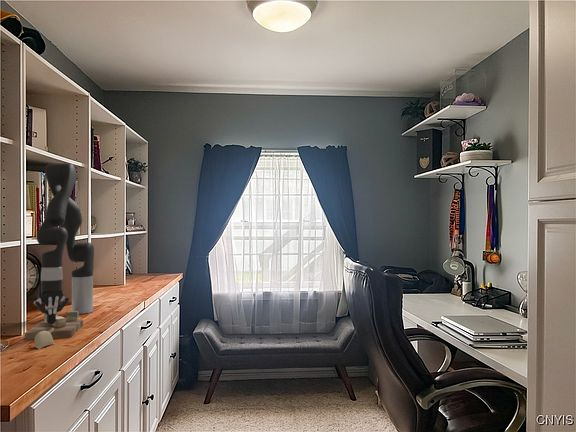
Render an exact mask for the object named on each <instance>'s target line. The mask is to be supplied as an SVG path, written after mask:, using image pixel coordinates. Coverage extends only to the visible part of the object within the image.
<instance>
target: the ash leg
mask: <svg viewBox="0 0 576 432" xmlns="http://www.w3.org/2000/svg"><path fill="white" fill-rule="evenodd" d="M66 320H67V317H63V316H60V315H57V314H56V321H55V322H54V324H50V325H53V326H56V327H62V326H66ZM43 321H44V322H45V323H47V314H44V315H43ZM47 324H48V323H47Z"/></svg>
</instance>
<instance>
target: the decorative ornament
mask: <svg viewBox="0 0 576 432" xmlns="http://www.w3.org/2000/svg"><path fill="white" fill-rule="evenodd" d="M53 330H54V328H51V329H50V330H49V331H41V332H39V333H38V334H36V336H35V339H33V340H34V346H33V348H36V349H38V350H41V349H42V348H44V347H47V346H49V345H56V344H55V343H56V342H54V338H52V335H51V333H52V331H53Z"/></svg>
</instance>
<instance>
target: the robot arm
mask: <svg viewBox="0 0 576 432" xmlns="http://www.w3.org/2000/svg"><path fill="white" fill-rule="evenodd" d="M44 172H45V178H46V181H47V184H48V187H49V189H50V192H51V194H52V198H51V199H50V201H49V202H48V203H47V206H46V212H45V217H44V220H43V222H42V223H41V225H40V227H39V228H38V231H37V234H36V241H37V243H38V244H39V245H41V246H56V247H55V249H53V250H50V251H45V252H43V253H42V255H41V271H40V294H39V296H38V298H37V299H36V300H33V302H32V303H33V305H34V306H35V307H36V308H37V309H38V310H39V311H40V313H42V314H44V315H45V314H47V323H48V324H54V322H55V321H56V315H57V313H60V312H62V311H63V309H64V307H65V306H66V305H67V304H68V302H69V300H70V298H68V297H66V296H64V292H63V283H64V282H63V280H64V279H63V278H64V275H63V274H64V272H63V254H64V250H65V246H66V253H67V256H68V259H69V261H70V262H73V263H83V265H82V266H80V267H78V268H75V269H74V270H72V271H71V311H79V315H85V314H89V313H93V311H94V263H95V262H94V261H95V260H94V259H95V247H94V244H93V243H92V242H77V240H76V236H77V235H76V234H77V233H78V231H79V230H80V228H81V226H82V222H83V217H82V212H81V207H80V206H79V204H78V203H77V202H76V201H75V200H73V199H72V198H71V195H72V192H73V189H74V186H75V183H76V180H77V179H76V178H77V176H76V175H77V172H76V168H75V166H74V164H73V163H68V162H67V163H65V162H64V163H63V162H62V163H49V164H46V166H45V169H44ZM42 303H43V304H44V306H43V305H42Z"/></svg>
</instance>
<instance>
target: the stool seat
mask: <svg viewBox="0 0 576 432" xmlns="http://www.w3.org/2000/svg"><path fill="white" fill-rule="evenodd" d="M79 317H80V314H79V311H72V310H69V311H67V312H66V326H62V327H56V326H53V325H50V324H47V323H45V322H44V320H42V321H40V322H39V323H37V324H36V325H34V326H33V327H31V328H30V329H29V330H27V331H25V332H24V340H25V341H26V340H35V336H36V334H38V333H39V332H41V331H49V330H50V329H51V328H54V330H53V331H52V333H51V335H52V338H53V339H58V338H60V337H63V338H72V337H73V336H74V335H75V334H77V332H78V331H80V329H81V328H82V327H83V326H84V319H82V318H81V319H79Z"/></svg>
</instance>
